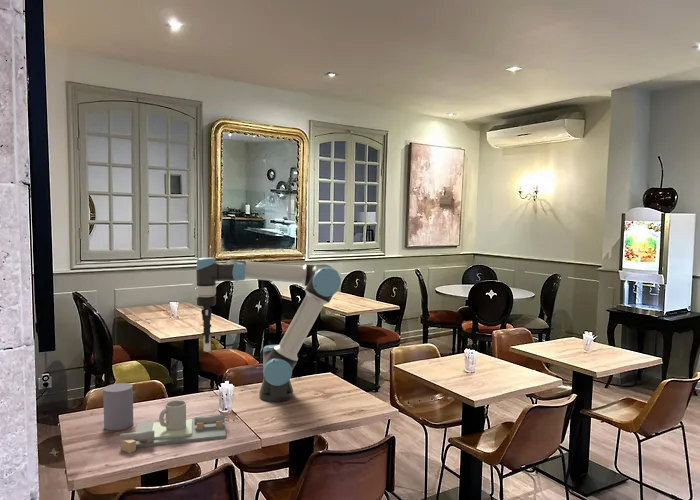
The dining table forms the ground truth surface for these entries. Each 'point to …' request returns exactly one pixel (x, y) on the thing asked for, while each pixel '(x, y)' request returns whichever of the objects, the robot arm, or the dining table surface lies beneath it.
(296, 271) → the robot arm
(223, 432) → the shaft rig
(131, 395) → the container
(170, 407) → the cup
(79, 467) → the dining table surface
